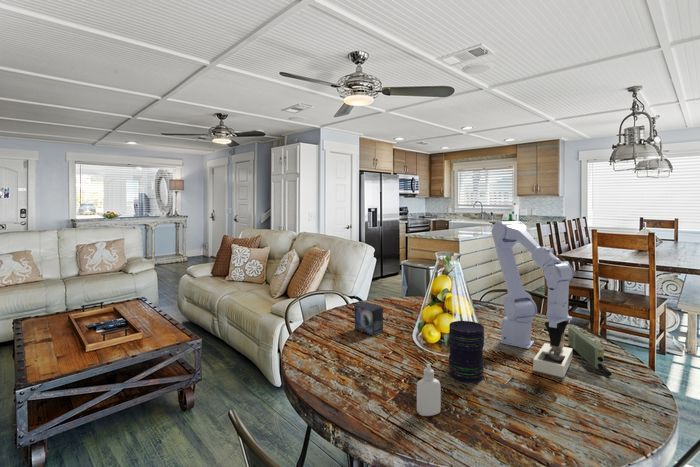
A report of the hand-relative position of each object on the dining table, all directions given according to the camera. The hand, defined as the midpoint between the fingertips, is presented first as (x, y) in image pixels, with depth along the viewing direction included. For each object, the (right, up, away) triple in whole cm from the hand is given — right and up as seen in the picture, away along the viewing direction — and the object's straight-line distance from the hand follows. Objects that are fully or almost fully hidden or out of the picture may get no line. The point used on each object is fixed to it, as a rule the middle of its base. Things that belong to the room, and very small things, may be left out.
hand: (556, 343), depth 119 cm
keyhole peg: (0, -5, 0) cm, 5 cm away
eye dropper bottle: (-46, -9, -27) cm, 54 cm away
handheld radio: (+11, -6, +1) cm, 13 cm away
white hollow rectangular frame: (-2, -6, -2) cm, 7 cm away
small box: (-58, -4, +30) cm, 65 cm away
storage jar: (-31, -7, -8) cm, 33 cm away
